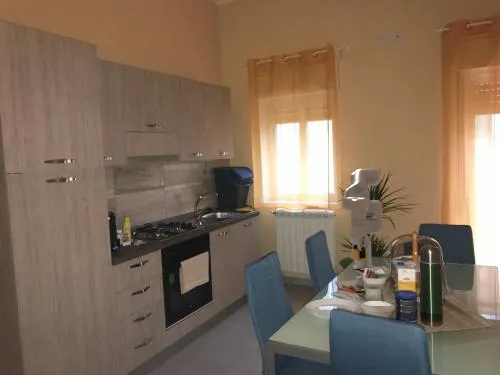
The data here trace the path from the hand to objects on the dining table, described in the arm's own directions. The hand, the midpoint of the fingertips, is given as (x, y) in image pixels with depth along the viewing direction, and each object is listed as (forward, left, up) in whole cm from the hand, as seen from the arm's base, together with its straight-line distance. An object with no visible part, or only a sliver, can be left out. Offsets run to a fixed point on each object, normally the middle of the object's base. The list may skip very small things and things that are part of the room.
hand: (359, 256), depth 209 cm
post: (0, 0, -16) cm, 16 cm away
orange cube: (0, 0, -2) cm, 2 cm away
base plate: (0, 0, -17) cm, 17 cm away
